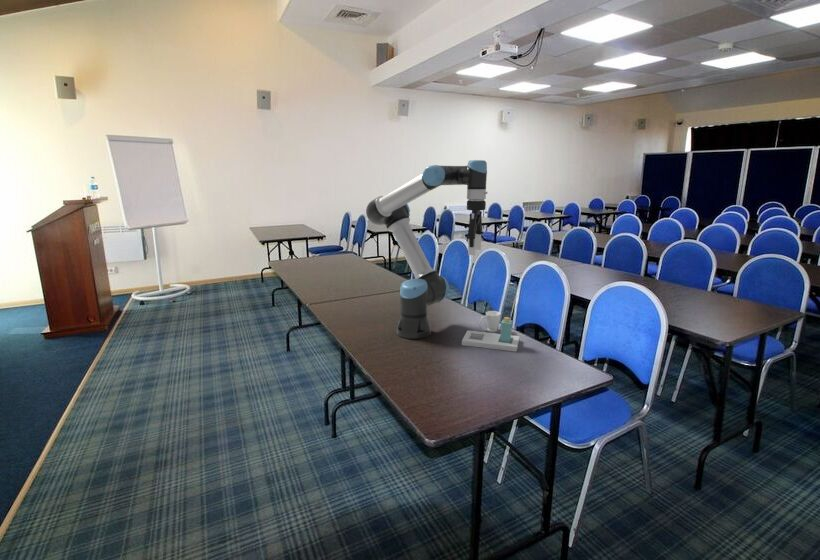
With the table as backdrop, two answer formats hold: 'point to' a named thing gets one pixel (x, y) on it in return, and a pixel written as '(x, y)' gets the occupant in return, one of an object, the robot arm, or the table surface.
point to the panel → (489, 341)
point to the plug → (506, 330)
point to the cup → (491, 320)
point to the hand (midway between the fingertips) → (474, 252)
